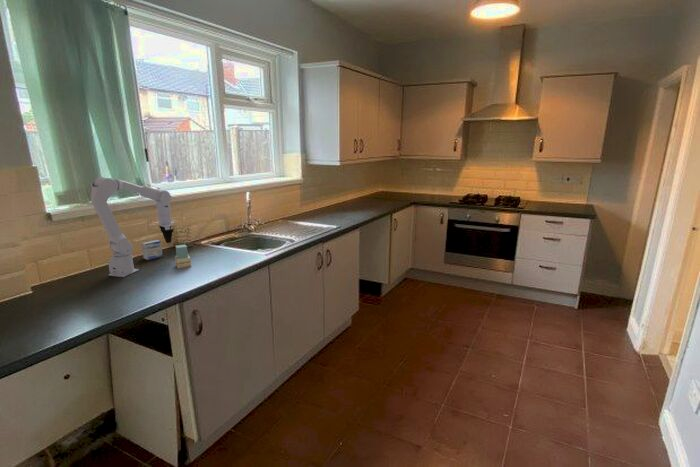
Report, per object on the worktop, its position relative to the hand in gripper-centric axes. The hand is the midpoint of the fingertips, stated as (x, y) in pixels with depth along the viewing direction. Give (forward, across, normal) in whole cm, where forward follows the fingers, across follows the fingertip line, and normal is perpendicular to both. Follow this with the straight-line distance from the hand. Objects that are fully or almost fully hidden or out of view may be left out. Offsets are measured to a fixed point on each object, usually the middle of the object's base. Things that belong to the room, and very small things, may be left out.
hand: (167, 240), depth 186 cm
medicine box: (+11, +10, +7) cm, 16 cm away
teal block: (+6, -12, -5) cm, 14 cm away
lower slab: (+11, -12, -5) cm, 17 cm away
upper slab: (+8, -12, -5) cm, 15 cm away
